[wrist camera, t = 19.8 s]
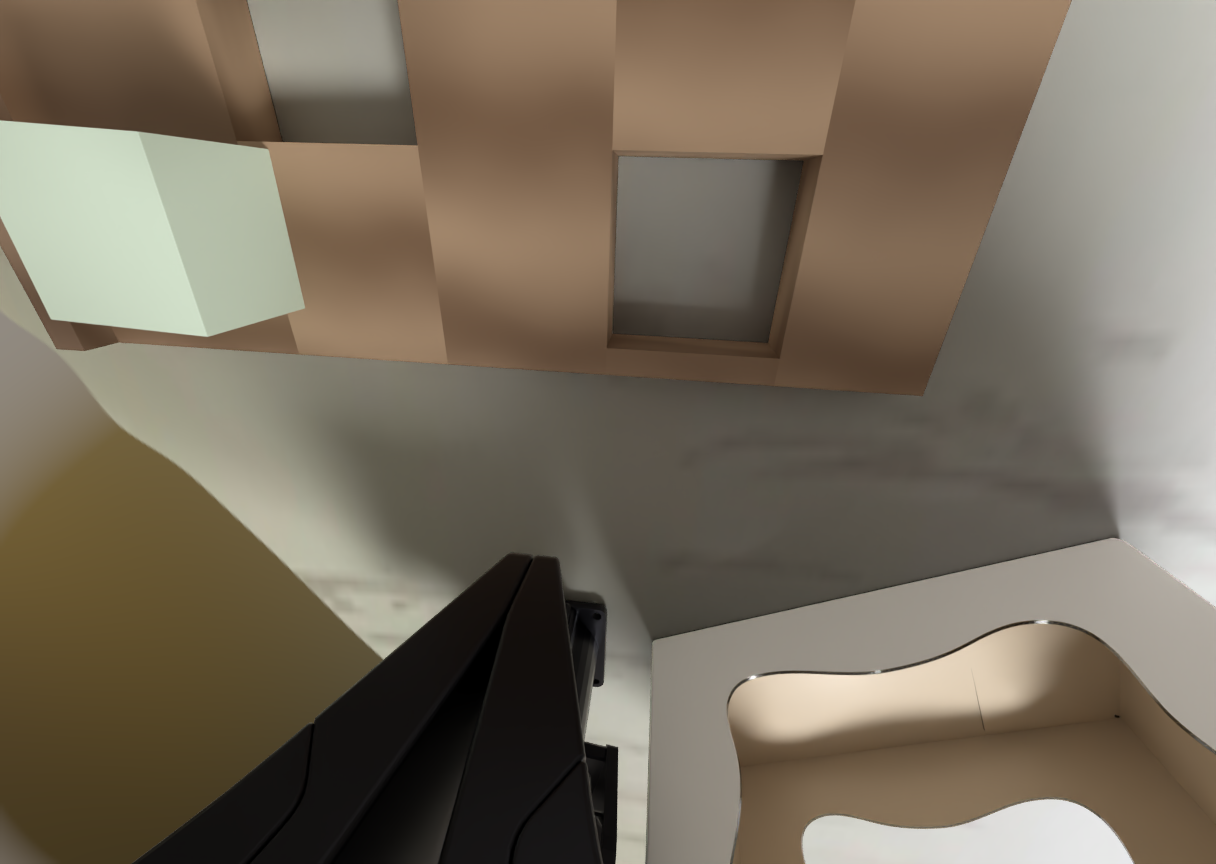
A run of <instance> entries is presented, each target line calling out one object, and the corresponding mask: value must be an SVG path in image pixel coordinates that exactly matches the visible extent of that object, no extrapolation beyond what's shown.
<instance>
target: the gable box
mask: <svg viewBox="0 0 1216 864" xmlns="http://www.w3.org/2000/svg"><path fill="white" fill-rule="evenodd" d="M1114 714H1115V715H1114ZM1119 716H1120V717H1119ZM1044 799H1057V800H1065V801H1069V802H1073V803H1076V804H1078V805H1081V806H1083V807H1085V808H1087V809H1088V810H1090V811H1091V812H1093V813H1094V814H1096V815H1097V816H1098V817H1099V818H1101V819H1102V820H1103V821H1104V822H1105V823H1106V824H1107V825H1108V826H1109V827H1110V828H1111V829H1112V831H1113V832H1114V833H1115V834H1116V836H1117V837H1118V839H1119V840H1120V841H1121V843H1122V844H1123V846H1124V848H1125V849H1126V851H1127V853H1128V855H1129V856H1130V858H1131V860H1132V862H1133V864H1216V607H1215V606H1213V605H1212V604H1211V603H1209V602H1208V601H1207V600H1205V599H1204V598H1203V597H1201V596H1200V595H1198V594H1197V593H1196V592H1194V591H1193V590H1192V589H1190V588H1189V587H1188V586H1186V585H1185V584H1184V583H1182V582H1181V581H1179V580H1178V579H1177V578H1175V577H1174V576H1173V575H1171V574H1170V573H1169V572H1167V571H1166V570H1164V569H1163V568H1162V567H1160V566H1159V565H1158V564H1156V563H1155V562H1154V561H1152V560H1151V559H1149V558H1148V557H1147V556H1145V555H1144V554H1143V553H1141V552H1140V551H1139V550H1137V549H1136V548H1135V547H1133V546H1132V545H1130V544H1129V543H1128V542H1126V541H1123V540H1121V539H1117V538H1109V539H1104V540H1100V541H1095V542H1091V543H1086V544H1082V545H1078V546H1073V547H1069V548H1064V549H1060V550H1055V551H1051V552H1046V553H1042V554H1037V555H1033V556H1028V557H1024V558H1019V559H1015V560H1010V561H1006V562H1001V563H997V564H992V565H988V566H983V567H979V568H974V569H970V570H966V571H961V572H957V573H952V574H948V575H943V576H939V577H934V578H930V579H925V580H921V581H916V582H912V583H907V584H903V585H898V586H894V587H889V588H885V589H880V590H876V591H871V592H867V593H862V594H858V595H854V596H849V597H845V598H840V599H836V600H831V601H827V602H822V603H818V604H813V605H809V606H804V607H800V608H795V609H791V610H786V611H782V612H777V613H773V614H768V615H764V616H759V617H755V618H750V619H746V620H742V621H737V622H733V623H728V624H724V625H719V626H715V627H710V628H706V629H701V630H697V631H692V632H688V633H683V634H679V635H674V636H670V637H665V638H661V639H656V640H654V641H653V643H652V657H651V691H650V725H649V759H648V793H647V827H646V861H645V864H805V860H804V855H803V847H802V840H803V834H804V831H805V829H806V827H807V826H808V825H809V824H810V823H811V822H812V821H814V820H816V819H818V818H820V817H824V816H830V815H840V816H847V817H853V818H857V819H861V820H865V821H869V822H873V823H877V824H881V825H887V826H893V827H900V828H914V829H933V828H947V827H953V826H958V825H962V824H965V823H969V822H971V821H974V820H977V819H980V818H982V817H985V816H987V815H990V814H992V813H995V812H997V811H1000V810H1002V809H1005V808H1007V807H1010V806H1013V805H1017V804H1020V803H1024V802H1029V801H1034V800H1044Z"/></svg>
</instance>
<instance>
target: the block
mask: <svg viewBox="0 0 1216 864" xmlns="http://www.w3.org/2000/svg"><path fill="white" fill-rule="evenodd" d="M0 217H1V219H2V221H3V223H4V225H5V227H6V229H7V231H8V233H9V235H10V237H11V240H12V242H13V244H14V246H15V248H16V250H17V252H18V254H19V256H20V258H21V260H22V262H23V264H24V266H25V268H26V270H27V272H28V274H29V276H30V278H31V280H32V282H33V284H34V286H35V288H36V290H37V292H38V294H39V296H40V298H41V300H42V302H43V304H44V306H45V308H46V310H47V312H48V314H49V316H50V318H51V319H52V320H61V321H70V322H79V323H88V324H97V325H106V326H115V327H123V328H132V329H141V330H150V331H159V332H168V333H177V334H186V335H195V336H204V337H209V336H213V335H216V334H219V333H223V332H226V331H230V330H233V329H236V328H240V327H243V326H247V325H250V324H253V323H257V322H260V321H264V320H267V319H270V318H274V317H277V316H281V315H284V314H287V313H291V312H294V311H298V310H301V309H304V308H305V305H304V301H303V296H302V292H301V288H300V283H299V279H298V275H297V270H296V266H295V262H294V257H293V253H292V249H291V244H290V240H289V236H288V232H287V227H286V223H285V219H284V214H283V210H282V206H281V201H280V197H279V193H278V188H277V184H276V180H275V175H274V171H273V167H272V162H271V158H270V154H269V150H268V149H264V148H256V147H249V146H241V145H234V144H226V143H219V142H212V141H204V140H197V139H189V138H182V137H174V136H167V135H160V134H152V133H145V132H137V131H124V130H112V129H100V128H87V127H75V126H62V125H50V124H38V123H25V122H13V121H0Z"/></svg>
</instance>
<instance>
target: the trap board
mask: <svg viewBox="0 0 1216 864" xmlns="http://www.w3.org/2000/svg"><path fill="white" fill-rule="evenodd" d="M397 1H398V8H399V15H400V22H401V30H402V37H403V44H404V51H405V58H406V66H407V73H408V80H409V87H410V95H411V102H412V109H413V116H414V123H415V131H416V138H417V145H382V144H339V143H297V142H282V138H281V134H280V130H279V126H278V122H277V119H276V115H275V111H274V107H273V103H272V99H271V95H270V91H269V87H268V83H267V79H266V75H265V71H264V67H263V63H262V59H261V56H260V52H259V48H258V44H257V40H256V36H255V32H254V28H253V24H252V20H251V16H250V12H249V8H248V4H247V0H0V121H13V122H25V123H38V124H50V125H62V126H75V127H87V128H100V129H112V130H124V131H137V132H145V133H152V134H160V135H167V136H174V137H182V138H189V139H197V140H204V141H212V142H219V143H226V144H234V145H241V146H249V147H256V148H264V149H268V150H269V154H270V158H271V162H272V167H273V171H274V175H275V180H276V184H277V188H278V193H279V197H280V201H281V206H282V210H283V214H284V219H285V223H286V227H287V232H288V236H289V240H290V244H291V249H292V253H293V257H294V262H295V266H296V270H297V275H298V279H299V283H300V288H301V292H302V296H303V301H304V305H305V308H304V309H301V310H298V311H294V312H291V313H287V314H284V315H281V316H277V317H274V318H270V319H267V320H264V321H260V322H257V323H253V324H250V325H247V326H243V327H240V328H236V329H233V330H230V331H226V332H223V333H219V334H216V335H213V336H209V337H204V336H195V335H186V334H177V333H168V332H159V331H150V330H141V329H132V328H123V327H115V326H106V325H97V324H88V323H79V322H70V321H61V320H52V319H51V318H50V316H49V314H48V312H47V310H46V308H45V306H44V304H43V302H42V300H41V298H40V296H39V294H38V292H37V290H36V288H35V286H34V284H33V282H32V280H31V278H30V276H29V274H28V272H27V270H26V268H25V266H24V264H23V262H22V260H21V258H20V256H19V254H18V252H17V250H16V248H15V246H14V244H13V242H12V240H11V237H10V235H9V233H8V231H7V229H6V227H5V225H4V223H3V221H2V219H1V217H0V246H1V248H2V249H3V251H4V253H5V255H6V257H7V259H8V260H9V262H10V264H11V266H12V268H13V270H14V271H15V273H16V275H17V277H18V279H19V281H20V282H21V284H22V286H23V288H24V290H25V292H26V293H27V295H28V297H29V299H30V301H31V303H32V305H33V306H34V308H35V310H36V312H37V314H38V316H39V317H40V319H41V321H42V323H43V325H44V327H45V328H46V330H47V332H48V334H49V336H50V338H51V339H52V341H53V343H54V345H55V347H56V349H63V350H78V351H87V350H91V349H94V348H98V347H102V346H106V345H110V344H114V343H118V342H122V343H137V344H152V345H167V346H182V347H197V348H211V349H226V350H241V351H256V352H271V353H286V354H301V355H316V356H331V357H346V358H361V359H376V360H391V361H406V362H421V363H436V364H451V365H466V366H481V367H496V368H511V369H526V370H541V371H556V372H571V373H586V374H601V375H616V376H631V377H646V378H661V379H676V380H691V381H705V382H720V383H735V384H750V385H765V386H780V387H795V388H810V389H825V390H840V391H855V392H870V393H885V394H900V395H915V396H923V394H924V391H925V389H926V386H927V383H928V381H929V378H930V375H931V373H932V370H933V367H934V365H935V362H936V359H937V357H938V354H939V351H940V349H941V346H942V343H943V341H944V338H945V335H946V333H947V330H948V328H949V325H950V322H951V320H952V317H953V314H954V312H955V309H956V306H957V304H958V301H959V298H960V296H961V293H962V290H963V288H964V285H965V282H966V280H967V277H968V274H969V272H970V269H971V266H972V264H973V261H974V258H975V256H976V253H977V251H978V248H979V245H980V243H981V240H982V237H983V235H984V232H985V229H986V227H987V224H988V221H989V219H990V216H991V213H992V211H993V208H994V205H995V203H996V200H997V197H998V195H999V192H1000V189H1001V187H1002V184H1003V181H1004V179H1005V176H1006V174H1007V171H1008V168H1009V166H1010V163H1011V160H1012V158H1013V155H1014V152H1015V150H1016V147H1017V144H1018V142H1019V139H1020V136H1021V134H1022V131H1023V128H1024V126H1025V123H1026V120H1027V118H1028V115H1029V112H1030V110H1031V107H1032V104H1033V102H1034V99H1035V97H1036V94H1037V91H1038V89H1039V86H1040V83H1041V81H1042V78H1043V75H1044V73H1045V70H1046V67H1047V65H1048V62H1049V59H1050V57H1051V54H1052V51H1053V49H1054V46H1055V43H1056V41H1057V38H1058V35H1059V33H1060V30H1061V27H1062V25H1063V22H1064V20H1065V17H1066V14H1067V12H1068V9H1069V6H1070V4H1071V1H1072V0H397ZM619 156H635V157H675V158H716V159H757V160H797V161H803V167H802V172H801V177H800V182H799V187H798V192H797V197H796V202H795V207H794V212H793V218H792V223H791V228H790V233H789V238H788V243H787V248H786V253H785V258H784V264H783V269H782V274H781V279H780V284H779V289H778V294H777V299H776V304H775V310H774V315H773V320H772V325H771V330H770V335H769V340H768V343H762V342H745V341H728V340H711V339H694V338H677V337H660V336H643V335H626V334H612V331H613V302H614V273H615V244H616V215H617V186H618V157H619Z"/></svg>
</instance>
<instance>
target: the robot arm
mask: <svg viewBox="0 0 1216 864" xmlns="http://www.w3.org/2000/svg"><path fill="white" fill-rule="evenodd" d="M597 613H598V614H597ZM606 626H607V609H606V608H605V607H604V606H603V605H600V604H594V603H585V602H576V601H567V600H565V599H564V592H563V585H562V577H561V570H560V563H559V559H558V558H557V557H551V556H541V555H537V556H535V557H533V556H532V555H530V554H522V553H509V554H507V555H506V556H505V557H504V558H502V559H501V560H500V561H499V562H498V563H497V564H495V565H494V566H493V567H492V568H491V569H490V570H488V571H487V572H486V573H485V574H484V575H482V576H481V577H480V578H479V579H478V580H477V581H475V582H474V583H473V584H472V585H471V586H470V587H468V588H467V589H466V590H465V591H464V592H462V593H461V594H460V595H459V596H458V597H457V598H455V599H454V600H453V601H452V602H451V603H450V604H448V605H447V606H446V607H445V608H444V609H443V610H441V611H440V612H439V613H438V614H437V615H435V616H434V617H433V618H432V619H431V620H430V621H428V622H427V623H426V624H425V625H424V626H423V627H421V628H420V629H419V630H418V631H417V632H415V633H414V634H413V635H412V636H411V637H410V638H408V639H407V640H406V641H405V642H404V643H403V644H401V645H400V646H399V647H398V648H397V649H395V650H394V651H393V652H392V653H391V654H390V655H388V656H387V657H386V658H385V659H384V660H383V661H381V662H380V663H379V664H378V665H377V666H375V667H374V668H373V669H372V670H371V671H370V672H368V673H367V674H366V675H365V676H364V677H363V678H362V679H360V680H359V681H358V682H357V683H356V684H354V685H353V686H352V687H351V688H350V689H348V690H347V691H346V692H345V693H344V694H343V695H341V696H340V697H339V698H338V699H337V700H336V701H334V702H333V703H332V704H331V705H330V706H328V707H327V708H326V709H325V710H324V711H323V712H321V713H320V714H319V715H318V716H317V717H316V718H315V721H314V724H313V723H308V724H307V725H306V726H305V727H303V728H302V729H301V730H300V731H299V732H298V733H296V734H295V735H294V736H293V737H292V738H291V739H289V740H288V741H287V742H286V743H285V744H283V745H282V746H281V747H280V748H279V749H278V750H276V751H275V752H274V753H273V754H271V755H270V756H269V757H268V758H267V759H265V760H264V761H263V762H262V763H260V764H259V765H258V766H257V767H256V768H254V769H253V770H252V771H251V772H250V773H248V774H247V775H246V776H245V777H243V778H242V779H241V780H240V781H239V782H238V783H236V784H235V785H234V786H232V787H231V788H230V789H229V790H228V791H226V792H225V793H224V794H223V795H221V796H220V797H218V798H217V799H216V800H215V801H213V802H212V803H211V804H210V805H208V806H207V807H206V808H204V809H203V810H202V811H200V812H199V813H198V814H196V815H195V816H194V817H193V818H191V819H190V820H189V821H188V822H186V823H185V824H183V825H182V826H181V827H179V828H178V829H177V830H176V831H174V832H173V833H172V834H170V835H169V836H168V837H166V838H165V839H164V840H163V841H161V842H160V843H159V844H157V845H156V846H155V847H153V848H152V849H151V850H149V851H148V852H147V853H145V854H144V855H142V856H141V857H140V858H138V859H137V860H136V861H134V862H133V863H132V864H615V860H616V843H617V787H618V747H615V746H611V745H606V747H605V746H601V745H597V744H593V743H589V742H584V740H585V733H586V727H587V720H588V713H589V707H590V700H591V693H592V687H599V686H602V685H603V683H604V675H605V650H606Z"/></svg>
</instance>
